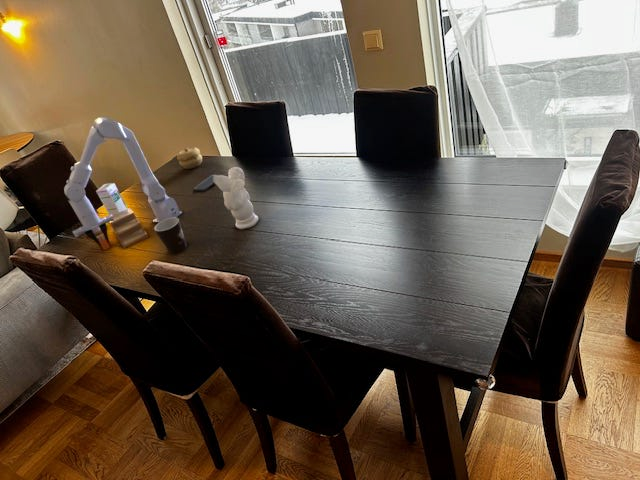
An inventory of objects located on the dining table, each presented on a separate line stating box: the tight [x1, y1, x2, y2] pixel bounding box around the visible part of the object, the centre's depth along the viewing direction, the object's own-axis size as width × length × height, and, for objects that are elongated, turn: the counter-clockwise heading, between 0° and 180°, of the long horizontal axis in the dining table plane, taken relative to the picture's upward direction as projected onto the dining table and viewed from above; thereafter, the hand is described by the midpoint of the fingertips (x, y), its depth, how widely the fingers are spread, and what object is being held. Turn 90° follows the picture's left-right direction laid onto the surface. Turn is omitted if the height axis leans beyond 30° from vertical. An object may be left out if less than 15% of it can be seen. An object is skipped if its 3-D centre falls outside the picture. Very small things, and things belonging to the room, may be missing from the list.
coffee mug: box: [153, 217, 188, 255], centre depth 156 cm, size 12×9×10 cm
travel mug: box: [64, 194, 102, 236], centre depth 181 cm, size 6×7×20 cm
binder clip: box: [97, 233, 111, 251], centre depth 171 cm, size 4×2×5 cm, turn 33°
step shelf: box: [108, 207, 149, 249], centre depth 175 cm, size 20×10×6 cm, turn 34°
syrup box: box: [95, 182, 129, 216], centre depth 191 cm, size 6×6×14 cm
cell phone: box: [193, 174, 221, 191], centre depth 203 cm, size 7×14×1 cm, turn 150°
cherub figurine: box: [213, 166, 259, 230], centre depth 155 cm, size 12×12×22 cm
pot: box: [176, 147, 203, 170], centre depth 225 cm, size 12×12×10 cm
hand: (104, 244), depth 171 cm, fingers closed on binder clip, 2 cm apart
